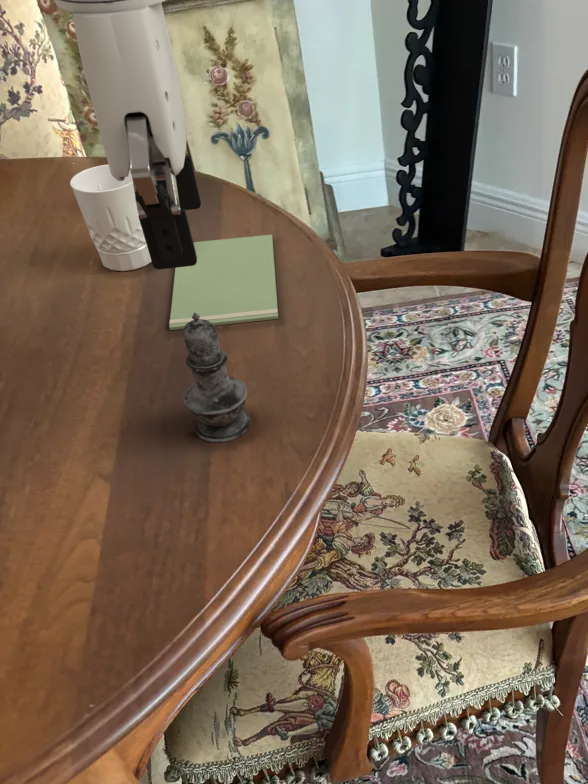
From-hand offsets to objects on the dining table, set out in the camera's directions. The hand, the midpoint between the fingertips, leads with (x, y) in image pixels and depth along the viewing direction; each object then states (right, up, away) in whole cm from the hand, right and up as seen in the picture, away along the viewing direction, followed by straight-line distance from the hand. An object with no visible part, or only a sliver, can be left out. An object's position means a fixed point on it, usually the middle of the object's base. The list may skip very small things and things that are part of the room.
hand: (179, 235), depth 61 cm
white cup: (-17, +11, +37) cm, 43 cm away
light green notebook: (-4, +7, +33) cm, 34 cm away
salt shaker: (0, -13, +14) cm, 19 cm away
